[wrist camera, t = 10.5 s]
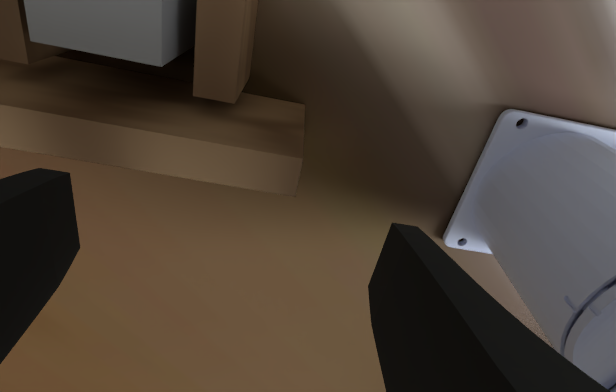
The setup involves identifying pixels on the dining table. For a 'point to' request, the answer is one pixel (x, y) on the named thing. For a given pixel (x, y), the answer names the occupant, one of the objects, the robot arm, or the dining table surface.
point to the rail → (116, 27)
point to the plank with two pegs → (154, 107)
